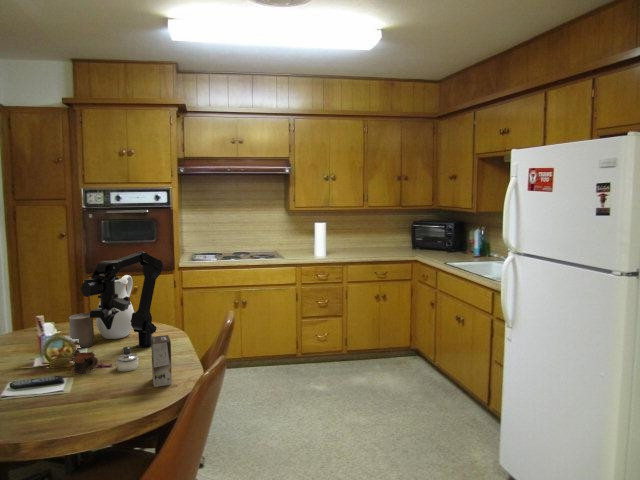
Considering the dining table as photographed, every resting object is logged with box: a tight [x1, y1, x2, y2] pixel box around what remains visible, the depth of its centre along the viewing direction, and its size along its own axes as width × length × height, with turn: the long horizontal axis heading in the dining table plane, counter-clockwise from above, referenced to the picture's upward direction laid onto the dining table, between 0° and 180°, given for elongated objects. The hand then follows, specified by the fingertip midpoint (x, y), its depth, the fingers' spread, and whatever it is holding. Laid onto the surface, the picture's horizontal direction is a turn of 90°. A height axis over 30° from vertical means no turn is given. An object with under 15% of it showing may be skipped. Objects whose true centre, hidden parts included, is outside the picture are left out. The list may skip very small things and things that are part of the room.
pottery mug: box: [70, 352, 99, 375], centre depth 191 cm, size 12×10×8 cm
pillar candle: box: [68, 312, 96, 348], centre depth 220 cm, size 10×10×15 cm
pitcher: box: [95, 274, 135, 340], centre depth 237 cm, size 24×17×28 cm
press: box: [115, 355, 140, 372], centre depth 195 cm, size 11×8×4 cm
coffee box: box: [150, 334, 173, 388], centre depth 180 cm, size 9×6×16 cm
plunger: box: [116, 346, 138, 361], centre depth 193 cm, size 7×7×4 cm
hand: (109, 329), depth 203 cm, fingers closed
